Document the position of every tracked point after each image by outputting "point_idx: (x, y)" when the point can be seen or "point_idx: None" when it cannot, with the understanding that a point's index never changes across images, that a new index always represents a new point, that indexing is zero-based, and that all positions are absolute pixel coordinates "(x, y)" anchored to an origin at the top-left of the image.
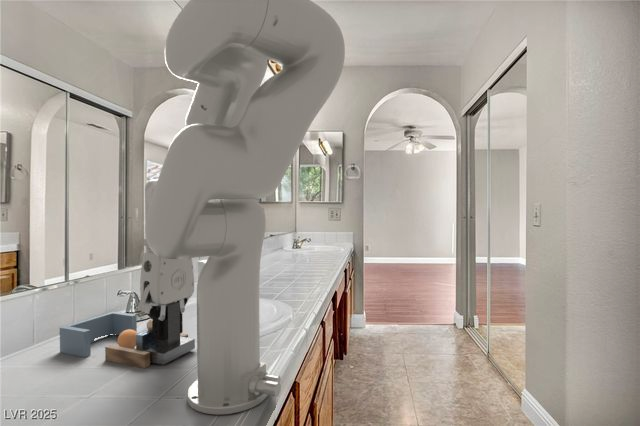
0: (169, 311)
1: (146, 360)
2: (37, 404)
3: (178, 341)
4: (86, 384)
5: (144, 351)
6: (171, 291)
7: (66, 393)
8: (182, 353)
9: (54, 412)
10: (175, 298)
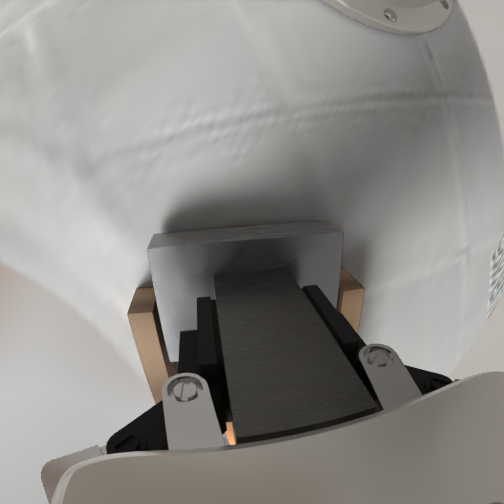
0: (343, 378)
1: (347, 278)
2: (481, 299)
3: (224, 276)
4: (431, 306)
5: (342, 312)
6: (481, 467)
7: (458, 300)
8: (228, 229)
9: (497, 251)
10: (392, 429)
